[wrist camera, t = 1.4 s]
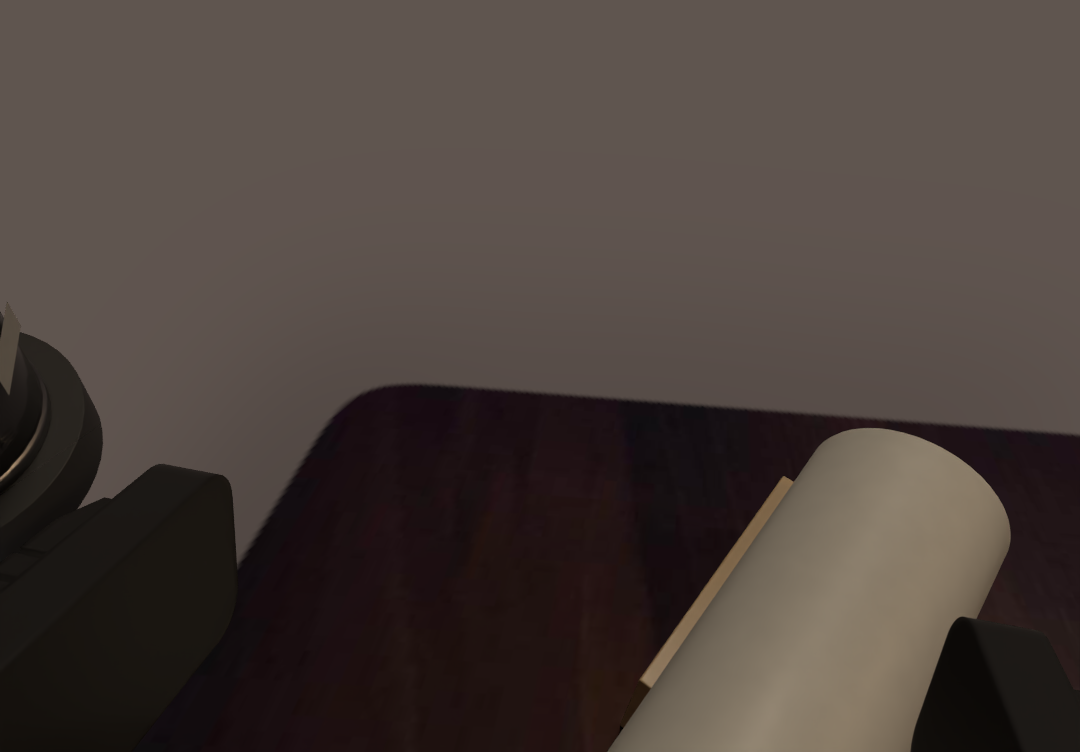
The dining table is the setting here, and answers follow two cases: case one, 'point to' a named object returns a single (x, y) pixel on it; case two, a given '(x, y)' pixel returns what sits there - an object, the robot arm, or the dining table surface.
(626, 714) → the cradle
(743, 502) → the dining table surface
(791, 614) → the paper towel roll
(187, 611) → the robot arm
